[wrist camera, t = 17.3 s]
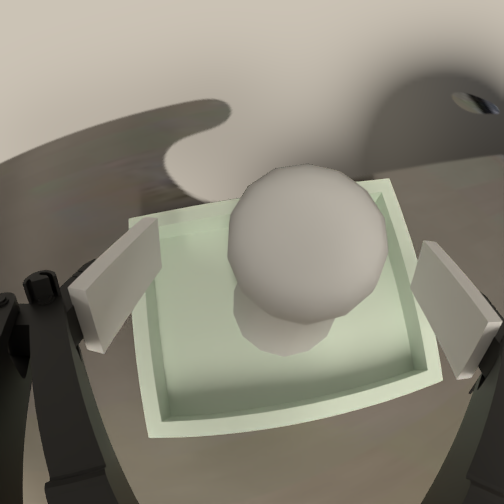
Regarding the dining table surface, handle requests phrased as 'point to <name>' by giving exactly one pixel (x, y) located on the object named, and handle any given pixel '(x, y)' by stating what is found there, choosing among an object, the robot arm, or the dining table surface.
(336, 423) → the dining table surface
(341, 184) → the salt shaker
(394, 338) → the tray
